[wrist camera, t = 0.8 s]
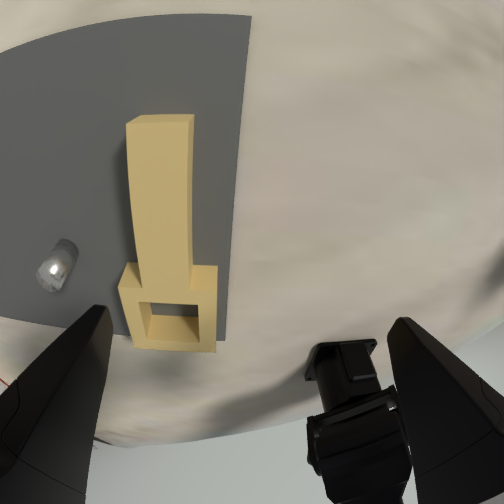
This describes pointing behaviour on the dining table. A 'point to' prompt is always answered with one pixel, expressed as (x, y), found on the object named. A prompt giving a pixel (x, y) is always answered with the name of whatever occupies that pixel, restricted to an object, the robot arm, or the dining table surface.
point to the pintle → (57, 265)
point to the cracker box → (3, 386)
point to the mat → (112, 154)
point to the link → (165, 239)
